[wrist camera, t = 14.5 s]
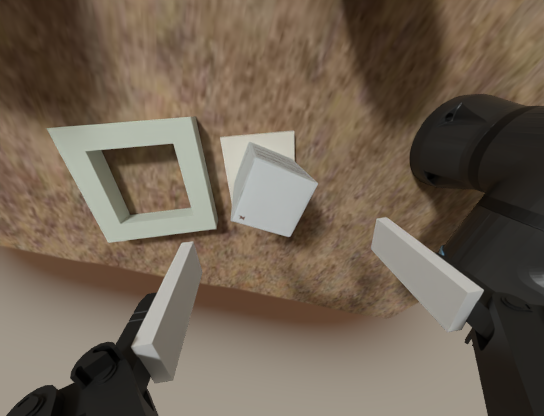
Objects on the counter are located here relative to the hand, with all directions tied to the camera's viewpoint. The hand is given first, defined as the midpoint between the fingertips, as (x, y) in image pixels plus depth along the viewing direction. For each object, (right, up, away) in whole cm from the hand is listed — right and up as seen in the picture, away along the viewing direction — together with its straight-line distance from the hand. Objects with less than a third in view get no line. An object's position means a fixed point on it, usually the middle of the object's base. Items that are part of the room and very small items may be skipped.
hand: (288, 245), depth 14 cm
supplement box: (-3, +9, +18) cm, 20 cm away
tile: (-3, +9, +18) cm, 21 cm away
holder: (-20, +7, +17) cm, 27 cm away
